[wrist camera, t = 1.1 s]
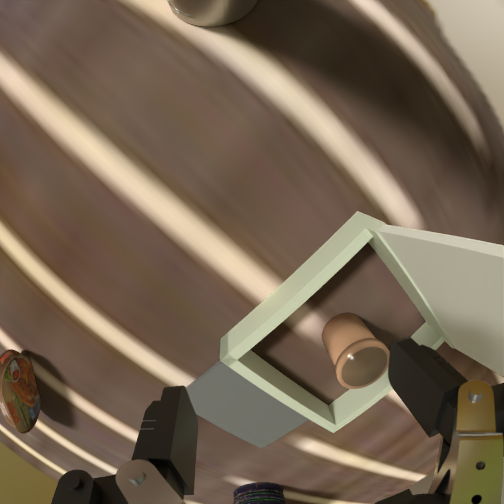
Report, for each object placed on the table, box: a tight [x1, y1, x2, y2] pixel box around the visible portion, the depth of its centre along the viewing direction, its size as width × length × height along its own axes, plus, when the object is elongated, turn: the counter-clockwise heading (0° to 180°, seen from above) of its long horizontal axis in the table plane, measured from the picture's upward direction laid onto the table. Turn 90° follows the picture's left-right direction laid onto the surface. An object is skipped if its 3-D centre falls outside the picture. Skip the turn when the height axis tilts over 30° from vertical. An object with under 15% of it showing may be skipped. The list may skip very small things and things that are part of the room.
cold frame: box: [220, 211, 504, 433], centre depth 22 cm, size 23×20×22 cm
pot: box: [322, 313, 390, 389], centre depth 30 cm, size 6×6×7 cm
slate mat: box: [186, 361, 308, 448], centre depth 35 cm, size 10×16×1 cm, turn 45°
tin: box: [0, 350, 41, 433], centre depth 29 cm, size 15×3×8 cm, turn 165°
